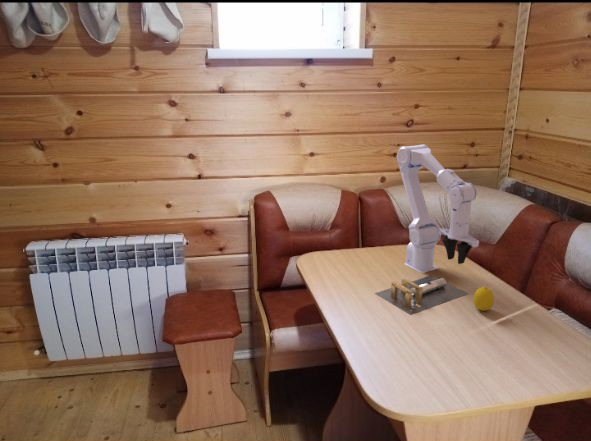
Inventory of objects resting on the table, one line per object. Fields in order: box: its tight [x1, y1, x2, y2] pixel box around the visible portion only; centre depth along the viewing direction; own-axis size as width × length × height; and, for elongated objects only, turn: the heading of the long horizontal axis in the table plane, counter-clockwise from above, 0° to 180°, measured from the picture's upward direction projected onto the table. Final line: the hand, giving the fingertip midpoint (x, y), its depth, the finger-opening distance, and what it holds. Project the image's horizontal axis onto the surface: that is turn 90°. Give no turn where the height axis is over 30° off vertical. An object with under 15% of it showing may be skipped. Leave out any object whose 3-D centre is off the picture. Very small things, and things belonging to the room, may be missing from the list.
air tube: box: [411, 277, 447, 297], centre depth 151 cm, size 13×3×3 cm, turn 121°
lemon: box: [473, 286, 495, 312], centre depth 139 cm, size 6×6×8 cm
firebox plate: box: [374, 275, 470, 316], centre depth 150 cm, size 16×25×5 cm, turn 121°
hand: (455, 260), depth 155 cm, fingers open, 4 cm apart
